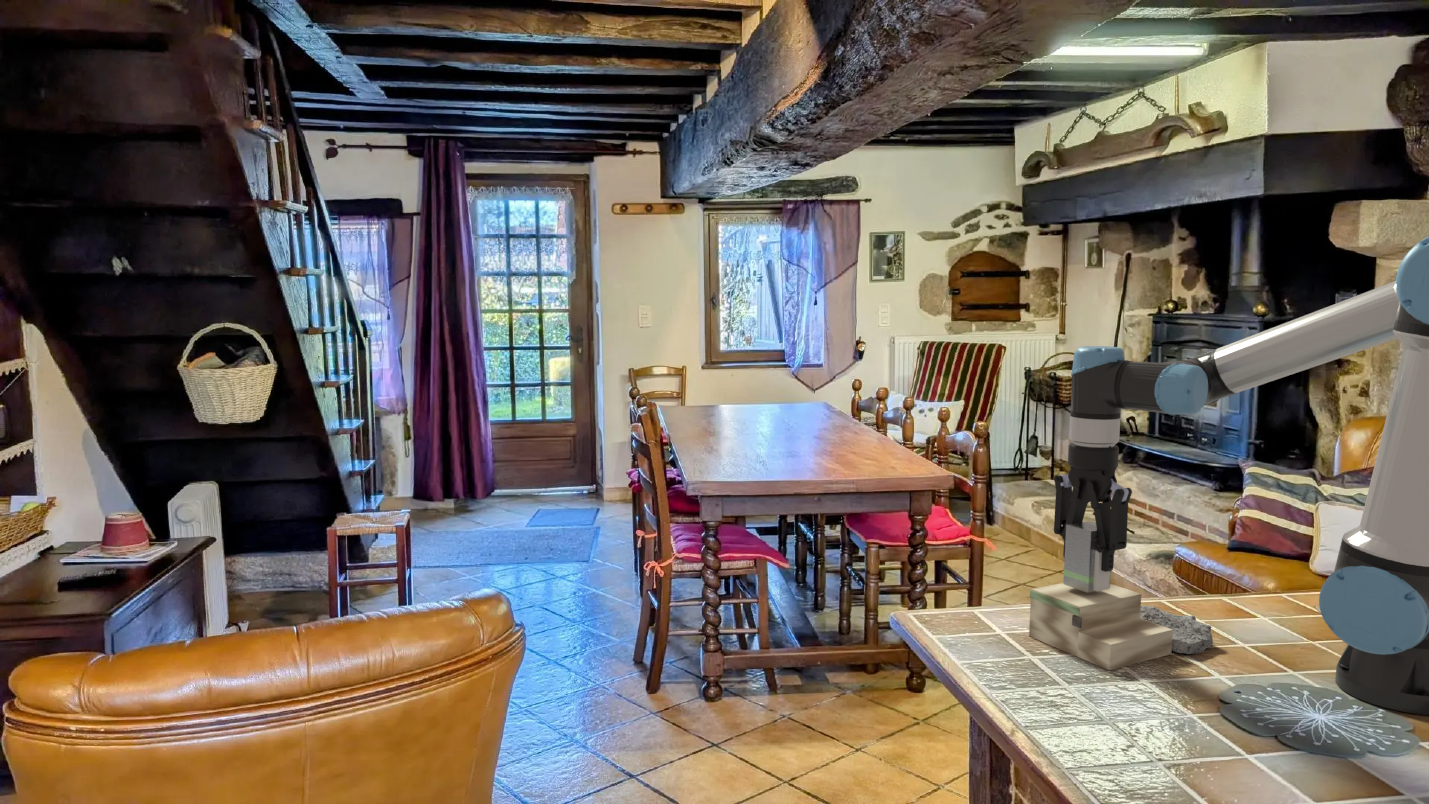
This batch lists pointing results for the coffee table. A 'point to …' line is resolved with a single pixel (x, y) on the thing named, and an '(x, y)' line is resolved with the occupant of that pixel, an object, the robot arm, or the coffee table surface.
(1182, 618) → the rock
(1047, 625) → the stand
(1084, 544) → the column
